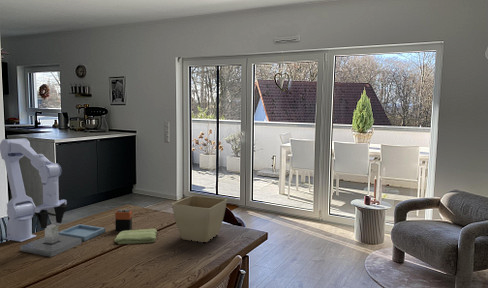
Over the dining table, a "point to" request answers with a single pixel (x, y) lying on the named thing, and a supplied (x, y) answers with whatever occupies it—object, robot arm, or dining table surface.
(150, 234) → the washcloth
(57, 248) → the pin plate
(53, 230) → the pin
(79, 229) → the tray
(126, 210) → the battery
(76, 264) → the dining table surface
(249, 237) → the dining table surface
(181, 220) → the flower pot
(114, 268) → the dining table surface
